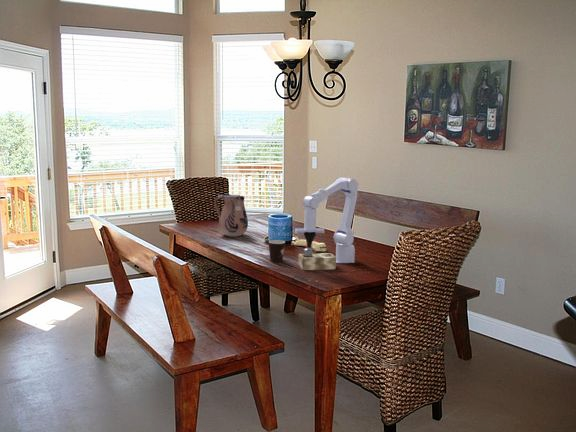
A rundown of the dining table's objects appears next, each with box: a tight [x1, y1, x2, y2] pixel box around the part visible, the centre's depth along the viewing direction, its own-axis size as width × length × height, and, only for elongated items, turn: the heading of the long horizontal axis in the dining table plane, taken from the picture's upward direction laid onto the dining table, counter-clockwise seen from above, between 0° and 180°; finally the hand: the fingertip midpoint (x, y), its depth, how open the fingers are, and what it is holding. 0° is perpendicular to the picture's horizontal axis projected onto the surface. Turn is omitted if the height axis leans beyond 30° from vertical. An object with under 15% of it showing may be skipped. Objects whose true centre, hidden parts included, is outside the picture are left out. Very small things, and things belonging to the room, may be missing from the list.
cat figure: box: [290, 232, 327, 253], centre depth 336 cm, size 10×9×25 cm
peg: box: [303, 247, 314, 257], centre depth 294 cm, size 4×4×6 cm
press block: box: [298, 252, 337, 271], centre depth 296 cm, size 17×9×6 cm, turn 102°
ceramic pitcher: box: [213, 194, 249, 238], centre depth 364 cm, size 18×21×25 cm
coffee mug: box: [268, 239, 286, 263], centre depth 307 cm, size 12×9×10 cm
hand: (309, 247), depth 293 cm, fingers closed
